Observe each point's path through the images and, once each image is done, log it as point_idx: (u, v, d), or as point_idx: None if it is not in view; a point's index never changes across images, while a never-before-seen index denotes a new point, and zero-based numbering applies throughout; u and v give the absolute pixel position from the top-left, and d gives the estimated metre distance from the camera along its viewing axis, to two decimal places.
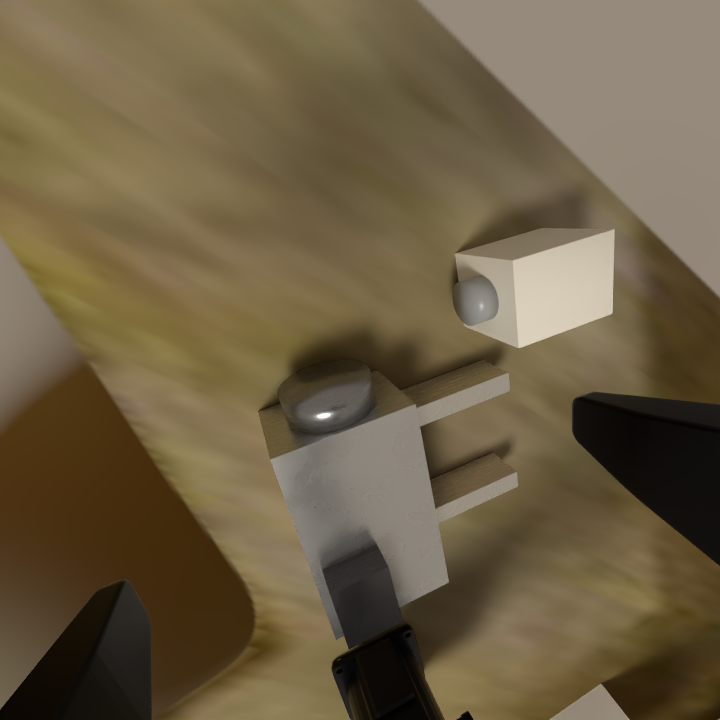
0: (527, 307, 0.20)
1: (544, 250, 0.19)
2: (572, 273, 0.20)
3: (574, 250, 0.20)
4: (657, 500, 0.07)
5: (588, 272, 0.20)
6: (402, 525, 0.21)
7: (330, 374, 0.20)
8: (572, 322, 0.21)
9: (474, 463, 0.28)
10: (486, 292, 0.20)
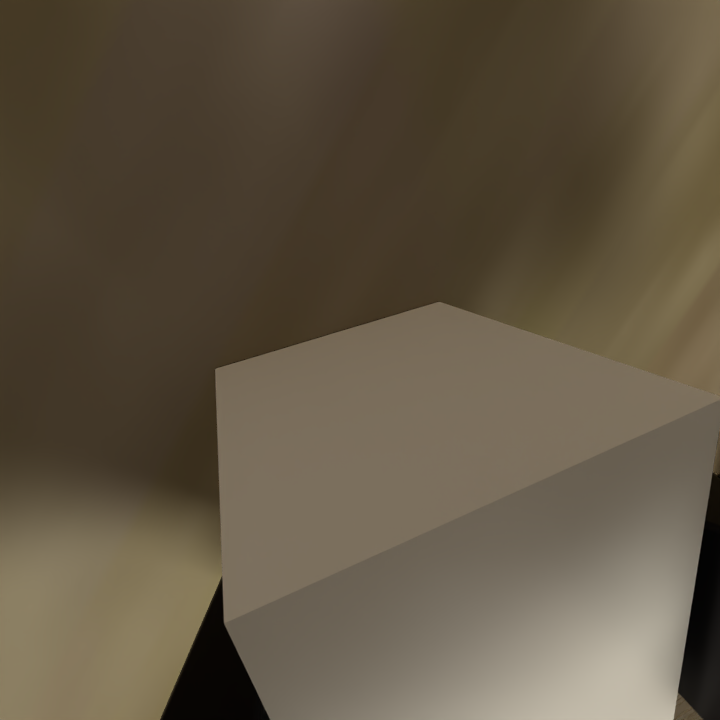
0: None
1: None
2: None
3: None
4: None
5: (482, 656, 0.04)
6: None
7: None
8: (671, 615, 0.05)
9: None
10: None
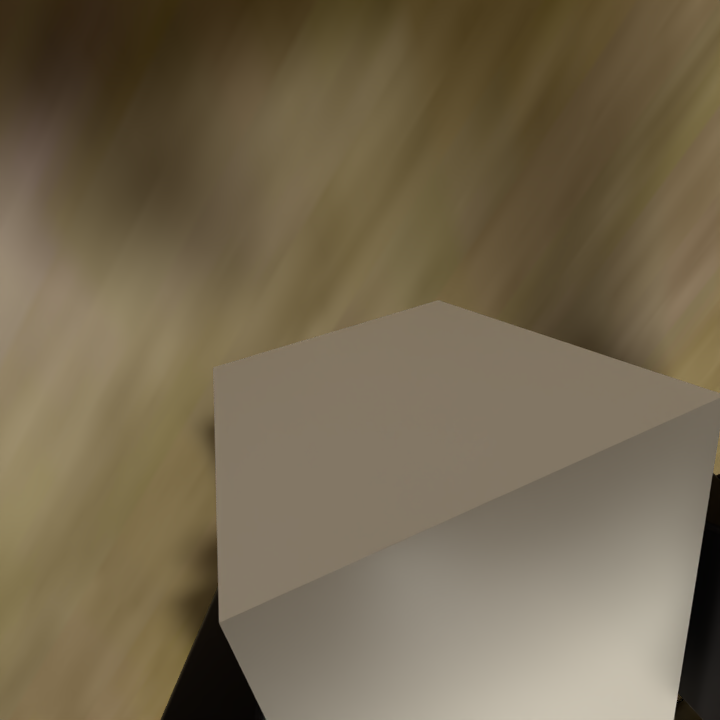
0: None
1: None
2: None
3: None
4: None
5: (481, 656, 0.04)
6: None
7: None
8: (670, 615, 0.04)
9: None
10: None
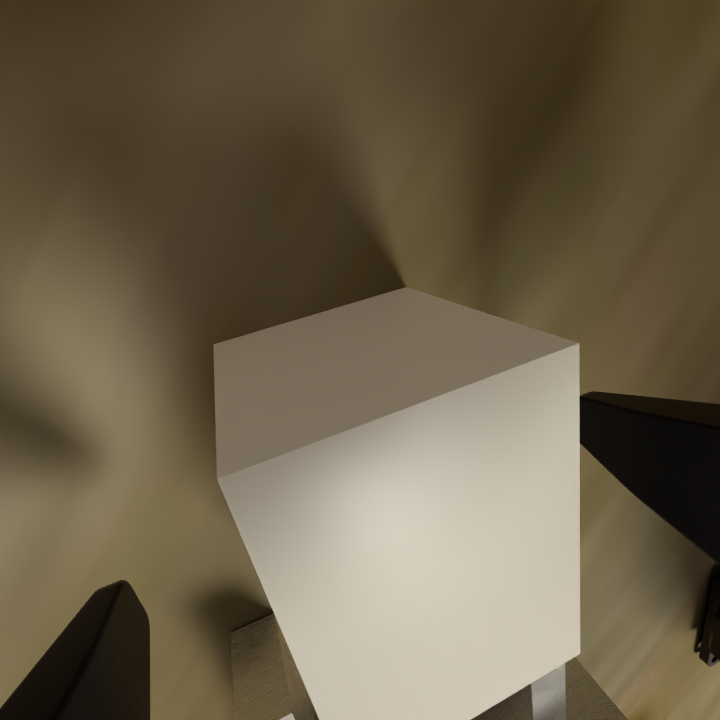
0: (483, 685, 0.07)
1: (319, 715, 0.06)
2: (404, 593, 0.05)
3: (322, 627, 0.05)
4: (658, 500, 0.07)
5: (405, 530, 0.05)
6: None
7: None
8: (561, 518, 0.06)
9: None
10: None
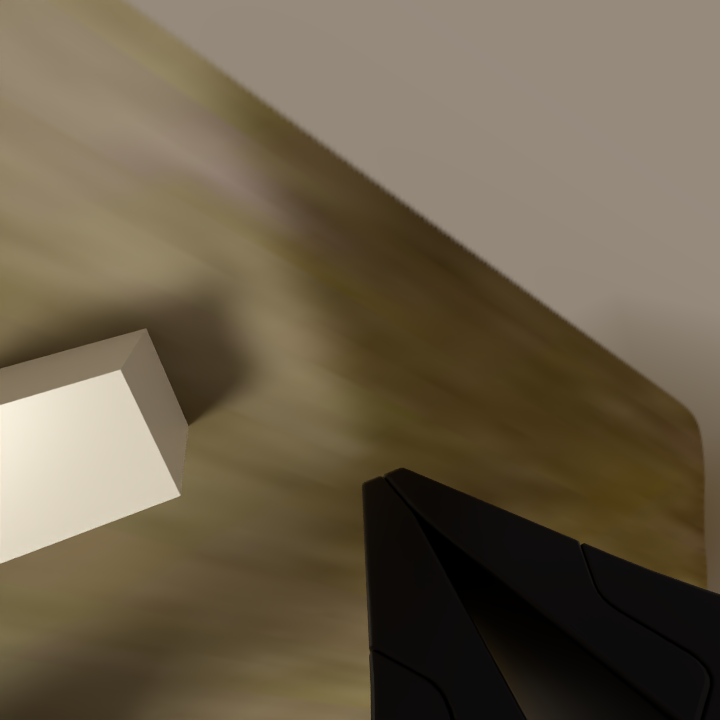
0: None
1: None
2: (42, 450, 0.11)
3: (26, 414, 0.11)
4: None
5: (85, 443, 0.11)
6: None
7: None
8: (83, 522, 0.12)
9: None
10: None
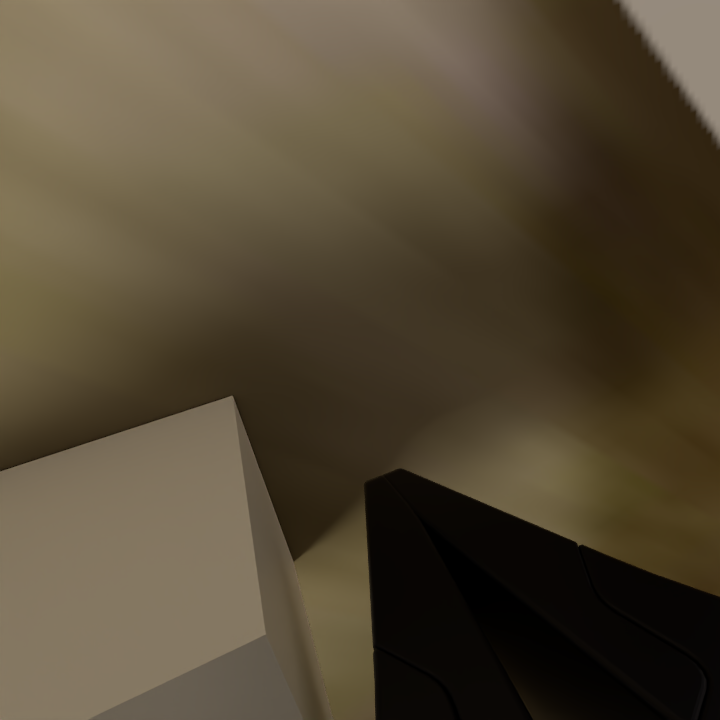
0: None
1: None
2: None
3: None
4: None
5: None
6: None
7: None
8: None
9: None
10: None
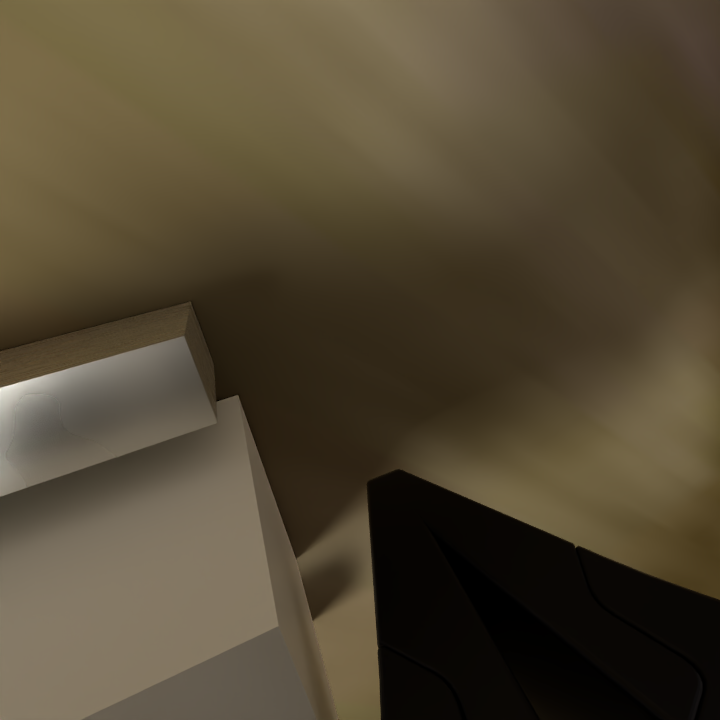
0: None
1: None
2: None
3: None
4: None
5: None
6: None
7: None
8: None
9: None
10: None
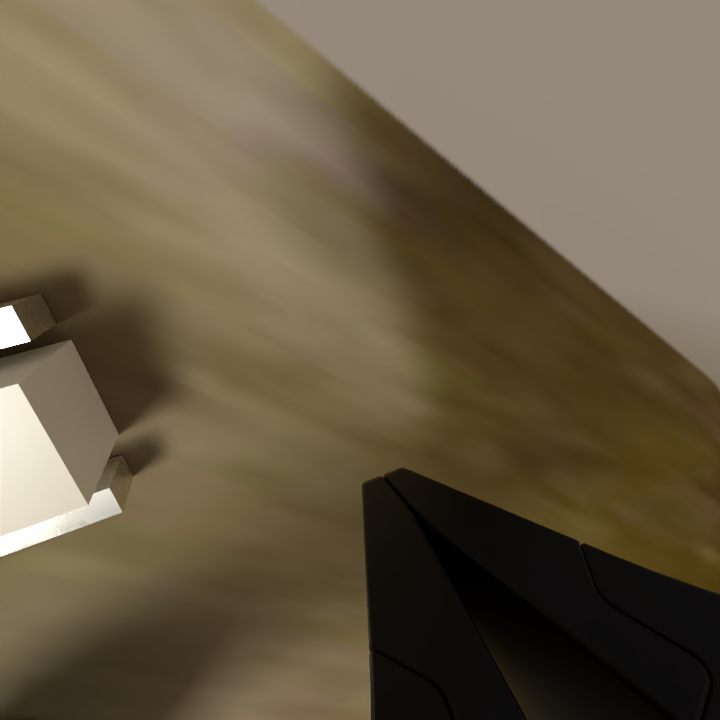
0: None
1: None
2: None
3: None
4: None
5: None
6: None
7: None
8: None
9: None
10: None
